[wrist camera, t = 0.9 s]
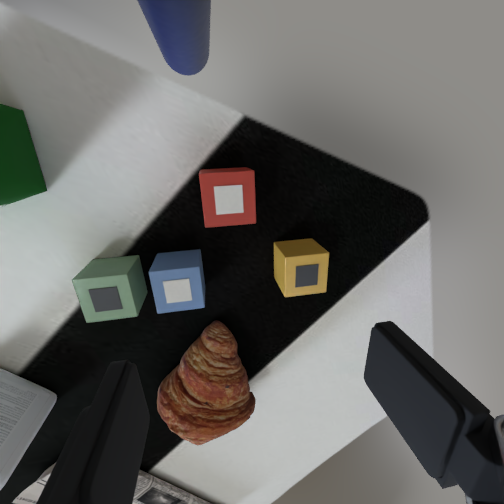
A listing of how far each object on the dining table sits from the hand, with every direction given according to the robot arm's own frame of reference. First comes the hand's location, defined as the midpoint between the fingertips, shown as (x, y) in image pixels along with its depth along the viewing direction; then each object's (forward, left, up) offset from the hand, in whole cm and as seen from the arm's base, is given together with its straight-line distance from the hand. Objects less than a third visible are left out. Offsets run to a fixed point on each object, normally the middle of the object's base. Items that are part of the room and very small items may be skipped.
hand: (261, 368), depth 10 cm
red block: (-4, 0, -22) cm, 22 cm away
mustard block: (+5, +8, -22) cm, 24 cm away
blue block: (+5, -6, -22) cm, 23 cm away
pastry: (+23, -5, -22) cm, 32 cm away
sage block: (+5, -13, -22) cm, 25 cm away
